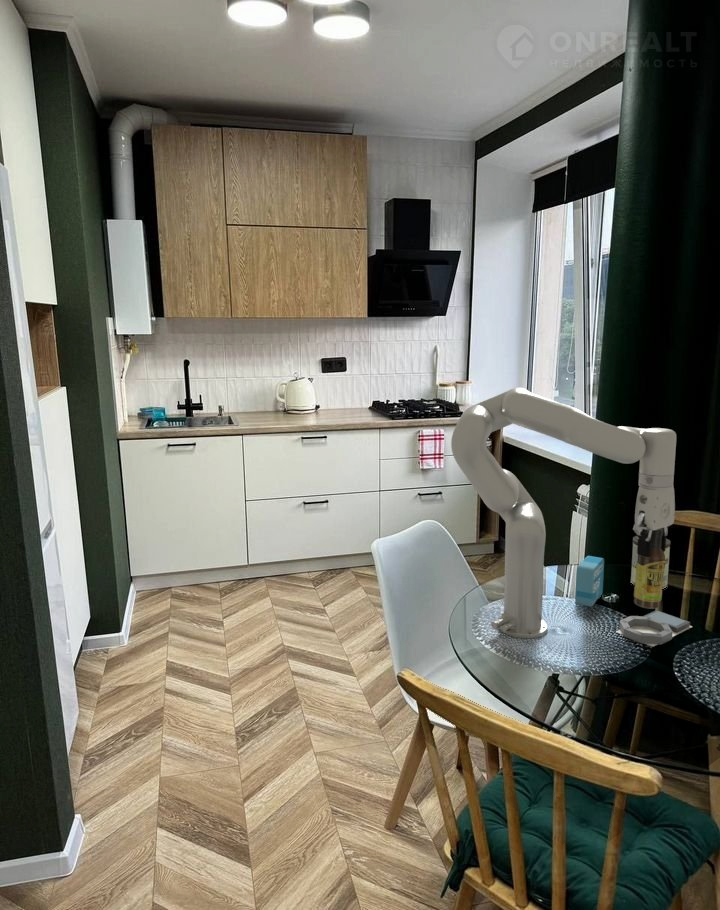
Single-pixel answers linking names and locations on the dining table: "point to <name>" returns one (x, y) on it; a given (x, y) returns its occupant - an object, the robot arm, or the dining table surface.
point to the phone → (670, 620)
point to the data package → (589, 581)
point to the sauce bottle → (650, 574)
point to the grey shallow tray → (646, 630)
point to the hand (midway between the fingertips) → (651, 552)
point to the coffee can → (635, 559)
